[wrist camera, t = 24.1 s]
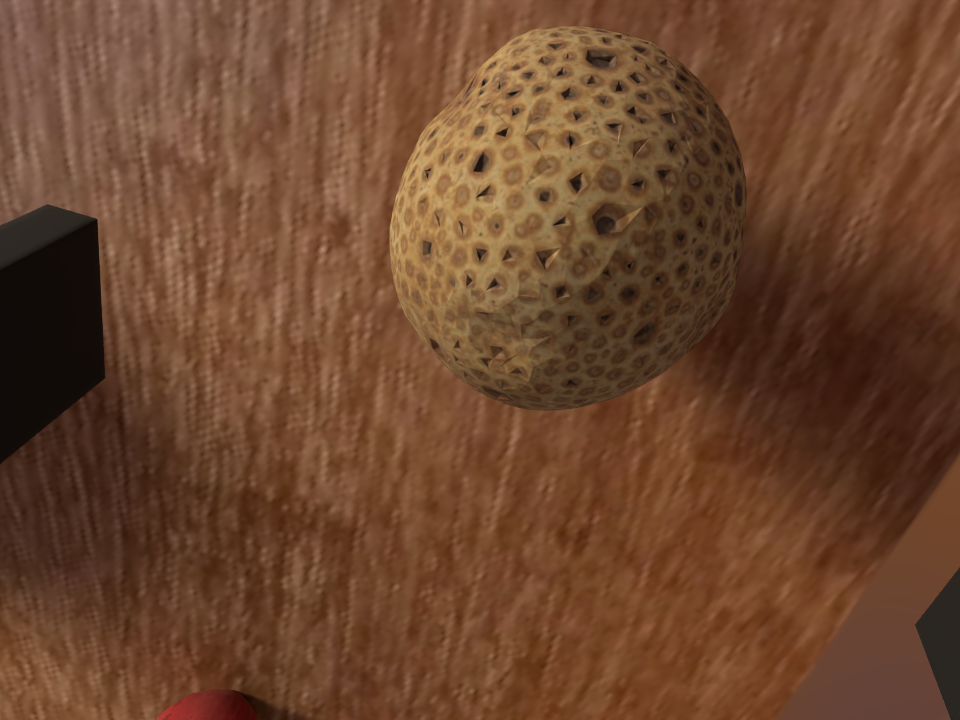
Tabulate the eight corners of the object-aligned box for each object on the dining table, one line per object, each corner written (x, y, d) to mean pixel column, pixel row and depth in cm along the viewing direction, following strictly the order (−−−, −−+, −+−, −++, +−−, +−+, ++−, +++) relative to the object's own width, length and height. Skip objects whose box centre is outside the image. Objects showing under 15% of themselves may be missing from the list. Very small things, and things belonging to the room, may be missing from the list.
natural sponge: (446, 3, 22) (320, 43, 14) (761, 19, 21) (836, 76, 13) (444, 287, 27) (346, 450, 18) (703, 316, 26) (729, 507, 17)
